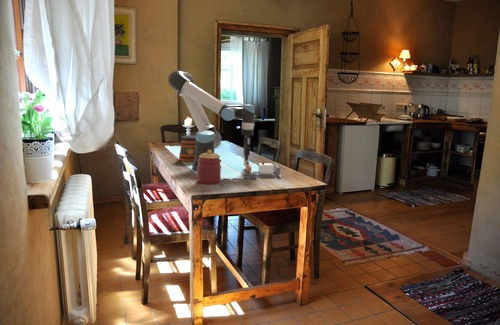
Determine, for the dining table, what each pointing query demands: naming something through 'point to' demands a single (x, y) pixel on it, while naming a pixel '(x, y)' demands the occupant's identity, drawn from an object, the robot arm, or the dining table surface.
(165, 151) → the dining table surface
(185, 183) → the dining table surface
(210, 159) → the canister
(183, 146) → the beer stein
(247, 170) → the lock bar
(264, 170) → the lock block
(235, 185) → the dining table surface
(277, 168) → the coupler rail
